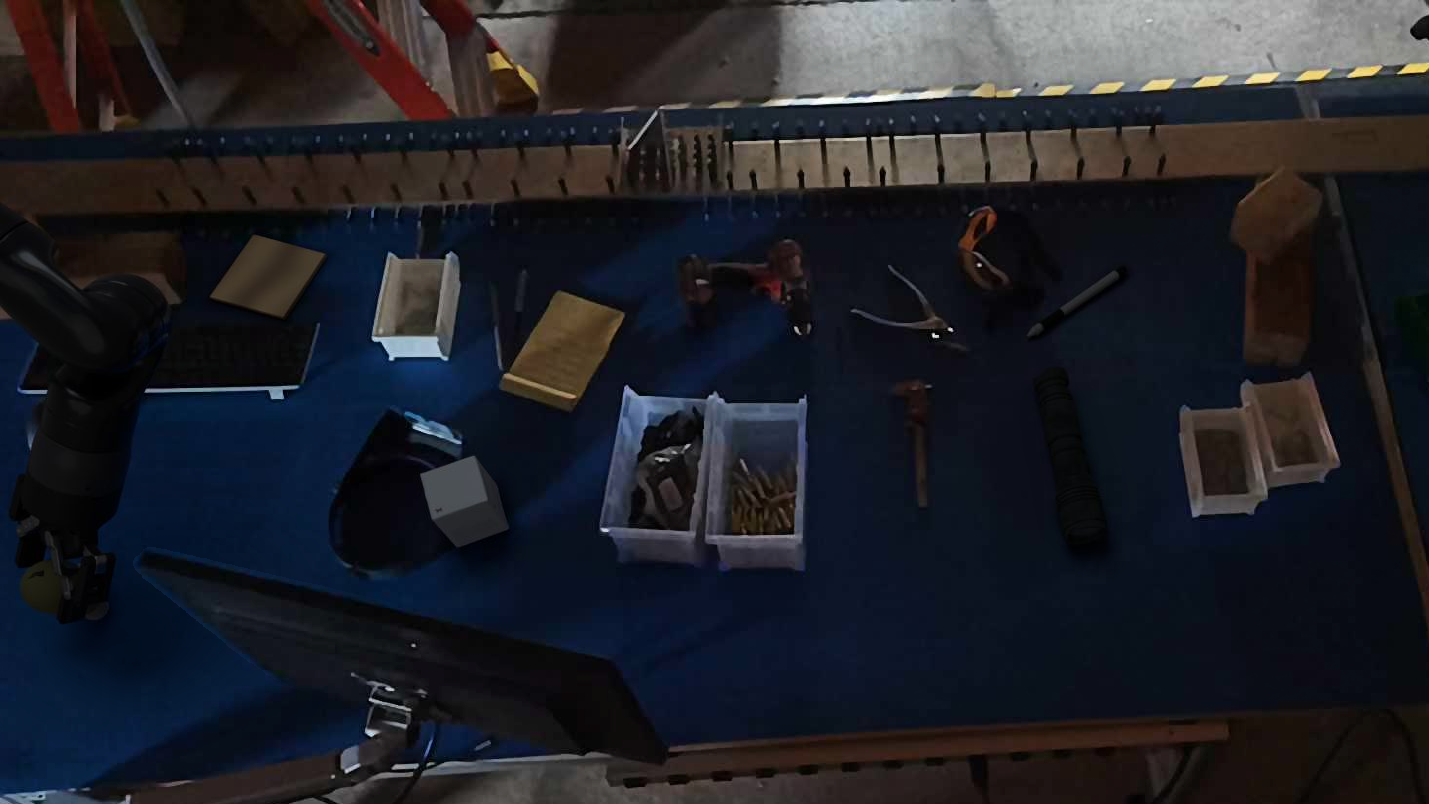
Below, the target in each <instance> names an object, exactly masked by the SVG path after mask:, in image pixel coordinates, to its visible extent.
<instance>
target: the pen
mask: <svg viewBox="0 0 1429 804" xmlns="http://www.w3.org/2000/svg"><path fill="white" fill-rule="evenodd" d="M1127 272H1128V268H1127V266H1125V265H1121V266H1120V267H1118V268H1116V269H1114V270H1112V271H1111V272H1110V273H1108V274H1107V275H1105V276H1104V277H1103V278H1101V279H1100V280H1098V281H1096V282H1095V283H1094V284H1092V285H1091V286H1089V287H1088V288H1086V290H1084V291H1083V292H1081V293H1079V294H1078V295H1077V296H1075V297H1073V298H1072V299H1071V300H1070V301H1068V302H1066V303H1065V304H1064V305H1062V306H1061V307H1060V308H1058V309H1056V310H1055V311H1053V312H1052V313H1050V314H1049V315H1047V316H1046V317H1045V318H1043V319H1041V320H1040V321H1039V322H1037V323H1036V324H1034V325H1032V326H1031V328H1030V330H1029V332H1028V333H1027V334H1026V338H1031V337H1035V336H1039V335H1040V334H1041V333H1043V332H1045V331H1046V330H1047V329H1049V328H1050V327H1051V326H1053V325H1054V324H1056V323H1057V322H1059V321H1061V319H1063V318H1064V317H1065V316H1067V315H1068V314H1070V313H1071V312H1072V311H1074V310H1076V309H1077V308H1078V307H1080V306H1081V305H1083V304H1084V303H1086V302H1088V301H1089V300H1090V299H1092V298H1093V297H1095V296H1096V295H1098V294H1099V293H1101V292H1102V291H1103V290H1105V289H1107V288H1108V287H1109V286H1111V285H1112V284H1115V282H1117V281H1119V280H1120V279H1121V278H1122V277H1123V276H1124V275H1125V274H1126V273H1127Z"/></svg>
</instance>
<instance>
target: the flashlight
mask: <svg viewBox="0 0 1429 804" xmlns="http://www.w3.org/2000/svg"><path fill="white" fill-rule="evenodd" d="M1069 379H1070V378H1069V374H1068V372H1067V370H1066V369H1065V368H1064V367H1062V366H1058V365H1057V366H1050V367H1047V368H1046V369H1045V370H1043V371H1042V372H1041V373H1040V374H1038V375H1037V376H1036V377H1035V378H1032V384H1033V388H1034V391H1035V392H1036V393H1037V394H1038V405H1039V407H1040V415H1041V416H1040V417H1041V420H1042V425H1043V429H1044V434H1045V438H1046V443H1047V447H1048V448H1049V449H1050V452H1049V455H1050V460H1051V462H1052V466H1053V470H1054V475H1055V480H1056V484H1055V486H1056V494H1055V503H1056V509H1057V514H1058V517H1059V522H1060V526H1061V531H1062V535H1063V536H1064V539H1065V542H1066V543H1067V544H1069V545H1076V546H1077V545H1078V546H1079V545H1087V544H1091V543H1092V542H1093V541H1094V542H1098V541H1099V540H1101V539H1103V538H1105V537H1106V535H1107V534H1108V529H1107V526H1108V524H1107V519H1106V515H1105V510H1104V506H1103V502H1102V499H1101V495H1100V490H1099V489H1098V486H1097V485H1095V482H1094V480H1093V478H1092V476H1091V474H1090V473H1091V467H1090V465H1089V463H1087V462H1086V457H1085V455H1086V450H1085V447H1084V444H1083V443H1082V441H1083V438H1082V437H1083V436H1082V433H1081V429H1080V425H1079V420H1078V416H1077V412H1076V408H1075V405H1074V402H1073V397H1072V394H1071V391H1070V390H1069V386H1070V380H1069Z"/></svg>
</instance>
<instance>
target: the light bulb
mask: <svg viewBox="0 0 1429 804" xmlns="http://www.w3.org/2000/svg"><path fill="white" fill-rule="evenodd" d="M64 563H65V566H66V567H68V566H74V565H77V564H78V563H75V562H73V561H71V560H64ZM77 578H78V574H76V575H74V576H73V577H72V579H73V585H74V586H76V583H77ZM19 592H20V596H21V598H22V599H23V601H24V602H25V604H27V605H28V606H29V607H30V608H31V609H33V610H34V611H37V612H39V613H41V614H46V615H51V616H52V615H53V616H55V615H56V616H57V612H58V608H59V604H60V599H61V595H62V593H63V589H62V582H61V577H60V576H57V575H55V574H54V571H53V565H52V558H49V559H45V560H43V561H41V562H39V563H36V564H35V565H33V566H32V567H28V568H27V570H26V571H25V572H24V574H22V577H21V579H20V583H19ZM109 610H110V604H109V602H108V601H107V602H103V603H96V604H91V605H88V608H87V610H86V611H87V612H86V616H85V618H84V619H87V620H89V621H97V620H100V619H103V618H104V617H105V616H106V615H107V614H108V612H109Z"/></svg>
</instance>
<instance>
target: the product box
mask: <svg viewBox="0 0 1429 804" xmlns="http://www.w3.org/2000/svg"><path fill="white" fill-rule="evenodd" d="M419 476H420V479H421V483H422V486H423V491H424V495H425V499H426V502H427V506H428V510H429V514H430V518H431V520H432V522H434V524H435V525H436V526H437V527H438V528H439V530H440V531H441V532H442V533H443V534H444V535H445V536H446V537H447V539H449V541H450V542H451V543H452V544H453V545H454V546H455V547H456V548H461V547H464V546H467V545H470V544H472V543H475V542H477V541H480V540H483V539H486V538H489V537H491V536H494V535H497V534H500V533H502V532H505V531H508V530H510V526H509V523H508V520H507V518H506V514H505V511H504V507H503V503H502V500H501V495H500V490H499V487H498V484H497V483H496V482H495V480H494V479H493V478H492V476H491V475H490V474H489V472H487V470H486V469H485V468H484V467H483V464H481V462H480V461H479V460H478V458H477V457H476V456H475V455H471V456H468V457H465V458H462V459H460V460H456V461H453V462H451V463H449V464H445V465H443V466H439V467H437V468H434V469H431V470H428V471H426V472H422V473H420V474H419Z"/></svg>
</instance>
